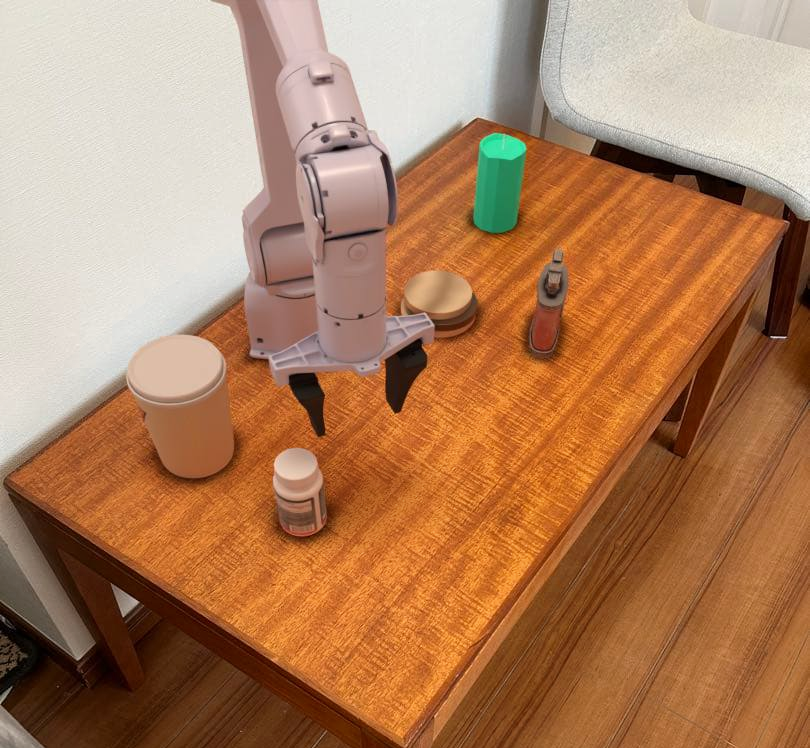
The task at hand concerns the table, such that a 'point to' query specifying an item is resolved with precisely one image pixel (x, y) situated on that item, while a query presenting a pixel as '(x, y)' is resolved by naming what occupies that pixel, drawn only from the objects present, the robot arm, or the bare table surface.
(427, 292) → the tan layered disc
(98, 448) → the table surface
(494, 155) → the candle
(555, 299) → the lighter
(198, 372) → the coffee cup
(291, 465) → the pill bottle
